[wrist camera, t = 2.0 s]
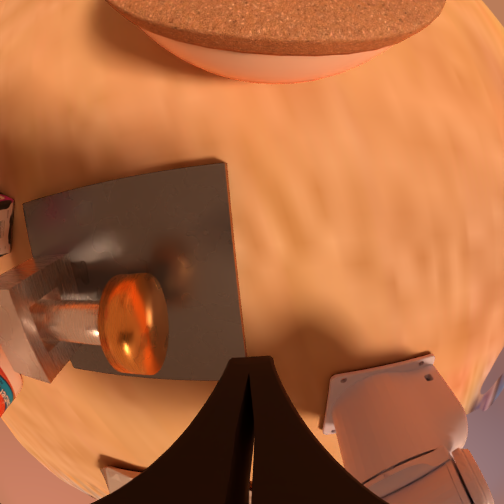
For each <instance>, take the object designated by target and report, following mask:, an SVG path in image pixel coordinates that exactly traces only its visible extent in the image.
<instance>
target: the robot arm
mask: <svg viewBox="0 0 504 504" xmlns="http://www.w3.org/2000/svg"><path fill="white" fill-rule="evenodd" d="M434 360H435V356H434V355H433V354H429V355H425V356H421V357H418V358H414V359H410V360H406V361H402V362H398V363H393V364H389V365H384V366H380V367H375V368H370V369H365V370H359V371H353V372H347V373H341V374H336V375H334V376H332V377H331V379H330V384H329V392H328V399H327V406H326V412H325V418H324V424H323V434H325V435H328V434H334V433H336V435H337V439H338V443H339V447H340V451H341V455H342V459H343V463H344V468H343V467H342V466H341V465H340V464H339V463H338V462H337V461H336V460H335V459H334V458H333V457H332V456H331V455H330V453H329V452H328V451H327V450H326V449H325V448H324V447H323V446H322V444H321V443H320V442H319V441H318V440H317V438H316V437H315V436H314V435H313V433H312V432H311V431H310V429H309V428H308V427H307V425H306V424H305V422H304V421H303V419H302V418H301V417H300V415H299V414H298V412H297V410H296V409H295V407H294V406H293V404H292V402H291V400H290V398H289V397H288V395H287V393H286V391H285V389H284V387H283V385H282V383H281V381H280V379H279V376H278V374H277V371H276V368H275V365H274V361H273V358H272V357H271V356H259V357H238V358H231V359H230V360H229V361H228V363H227V366H226V368H225V370H224V372H223V374H222V376H221V378H220V380H219V382H218V383H217V385H216V387H215V389H214V390H213V392H212V393H211V395H210V397H209V398H208V400H207V401H206V403H205V404H204V406H203V407H202V409H201V410H200V412H199V413H198V414H197V416H196V417H195V418H194V420H193V421H192V422H191V424H190V425H189V426H188V428H187V429H186V430H185V431H184V432H183V434H182V435H181V436H180V437H179V438H178V439H177V440H176V441H175V442H174V443H173V445H172V446H171V447H170V448H169V449H168V450H167V451H166V452H165V453H163V454H162V455H161V456H160V457H159V458H158V459H157V460H156V461H155V462H154V463H153V464H151V465H150V466H149V467H148V468H147V469H145V470H144V471H143V472H142V473H140V474H139V475H138V476H136V477H135V478H133V479H132V480H131V481H129V482H128V483H126V484H125V485H123V486H122V487H120V488H119V489H117V490H116V491H114V492H112V493H111V494H109V495H107V496H105V497H103V498H101V499H99V500H97V501H95V502H93V503H91V504H249V483H250V472H251V463H252V454H253V445H254V461H253V480H252V496H251V504H494V500H493V497H492V495H491V492H490V490H489V488H488V485H487V483H486V481H485V479H484V477H483V475H482V473H481V471H480V469H479V467H478V465H477V463H476V462H475V460H474V458H473V456H472V454H471V453H470V451H469V450H468V449H462V448H463V446H464V444H465V442H466V439H467V434H468V424H467V418H466V414H465V411H464V409H463V407H462V405H461V404H460V402H459V401H458V399H457V398H456V396H455V395H454V393H453V392H452V391H451V389H450V388H449V386H448V385H447V383H446V382H445V381H444V379H443V378H442V376H441V375H440V374H439V372H438V371H437V370H436V368H435V367H434V366H433V363H434ZM344 378H345V379H344ZM342 379H343V380H342ZM453 458H454V459H453ZM454 460H455V461H454ZM455 462H456V463H455ZM0 504H1V503H0Z"/></svg>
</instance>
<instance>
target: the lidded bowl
mask: <svg viewBox="0 0 504 504" xmlns="http://www.w3.org/2000/svg"><path fill="white" fill-rule="evenodd" d="M106 1H107V2H108V3H109V4H110V5H111V6H112V7H113V8H114V9H115V10H116V11H118V12H119V13H120V14H121V15H123V16H124V17H125V18H126V19H128V20H129V21H130V22H132V23H134V24H136V25H137V26H138V27H139V28H140V29H142V30H143V31H144V32H145V33H146V34H147V35H148V36H149V37H151V38H152V39H153V40H154V41H155V42H156V43H157V44H159V45H160V46H162V47H163V48H165V49H166V50H167V51H169V52H171V53H172V54H174V55H175V56H177V57H179V58H180V59H182V60H183V61H185V62H187V63H190V64H192V65H194V66H197V67H199V68H201V69H203V70H206V71H208V72H210V73H213V74H216V75H220V76H223V77H226V78H229V79H234V80H240V81H245V82H250V83H264V84H294V83H301V82H309V81H314V80H318V79H322V78H326V77H330V76H333V75H337V74H340V73H343V72H345V71H348V70H350V69H353V68H355V67H358V66H360V65H362V64H364V63H366V62H368V61H370V60H371V59H373V58H375V57H376V56H378V55H380V54H381V53H383V52H385V51H386V50H388V49H389V48H391V47H392V46H394V45H395V44H397V43H399V42H401V41H403V40H405V39H407V38H409V37H411V36H412V35H414V34H416V33H418V32H420V31H421V30H423V29H424V28H425V27H427V26H428V25H429V24H430V23H431V22H432V21H433V20H435V19H436V18H437V17H438V16H439V15H440V13H441V11H442V9H443V7H444V5H445V1H446V0H106Z"/></svg>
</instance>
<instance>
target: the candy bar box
mask: <svg viewBox="0 0 504 504" xmlns="http://www.w3.org/2000/svg"><path fill="white" fill-rule="evenodd" d="M13 213H14V200H13V199H11V198H9V197H7V196H5V195H3V194H1V193H0V257H1V256H3V255H5V254H8V253H10V252H11V235H12V223H13Z"/></svg>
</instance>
